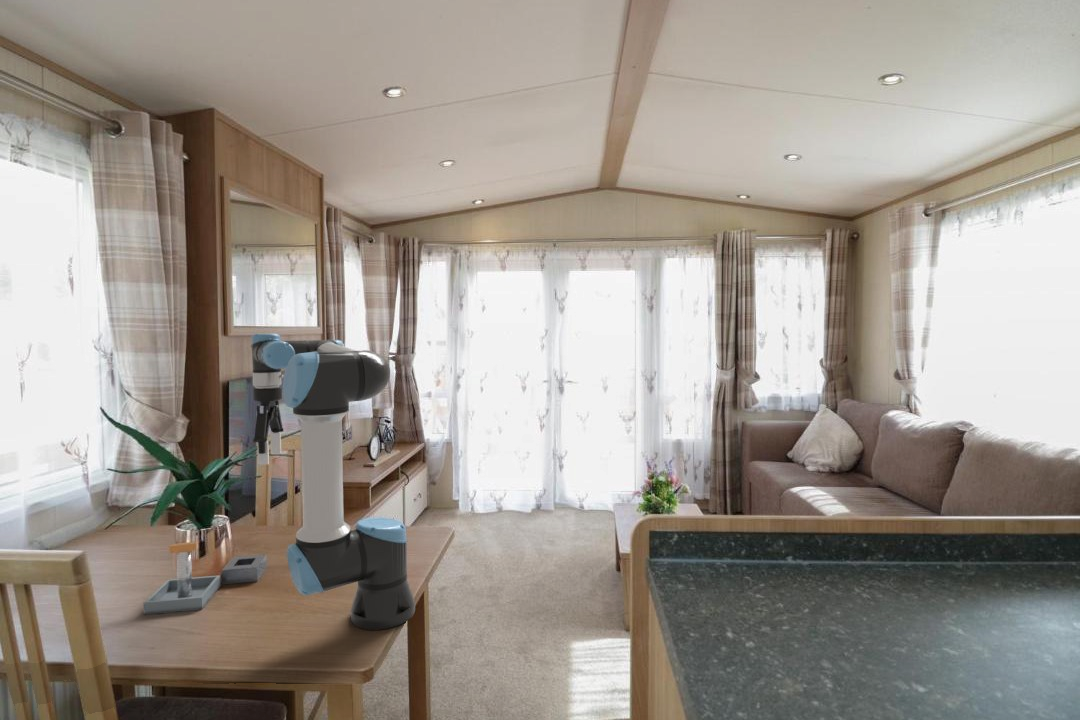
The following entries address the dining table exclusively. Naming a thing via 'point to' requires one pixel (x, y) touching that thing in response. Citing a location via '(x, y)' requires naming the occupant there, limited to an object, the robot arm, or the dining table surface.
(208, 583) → the tray
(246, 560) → the block
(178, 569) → the t key
